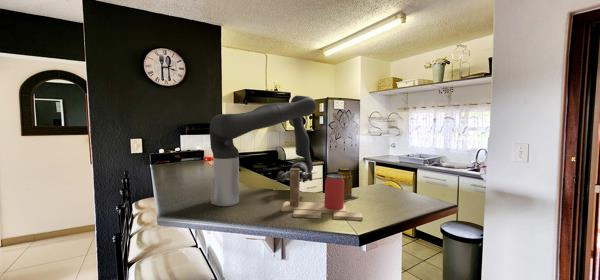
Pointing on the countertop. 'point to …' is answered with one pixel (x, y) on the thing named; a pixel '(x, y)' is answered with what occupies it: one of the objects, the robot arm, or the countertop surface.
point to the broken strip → (336, 215)
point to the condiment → (347, 183)
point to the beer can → (334, 192)
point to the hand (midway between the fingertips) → (292, 179)
